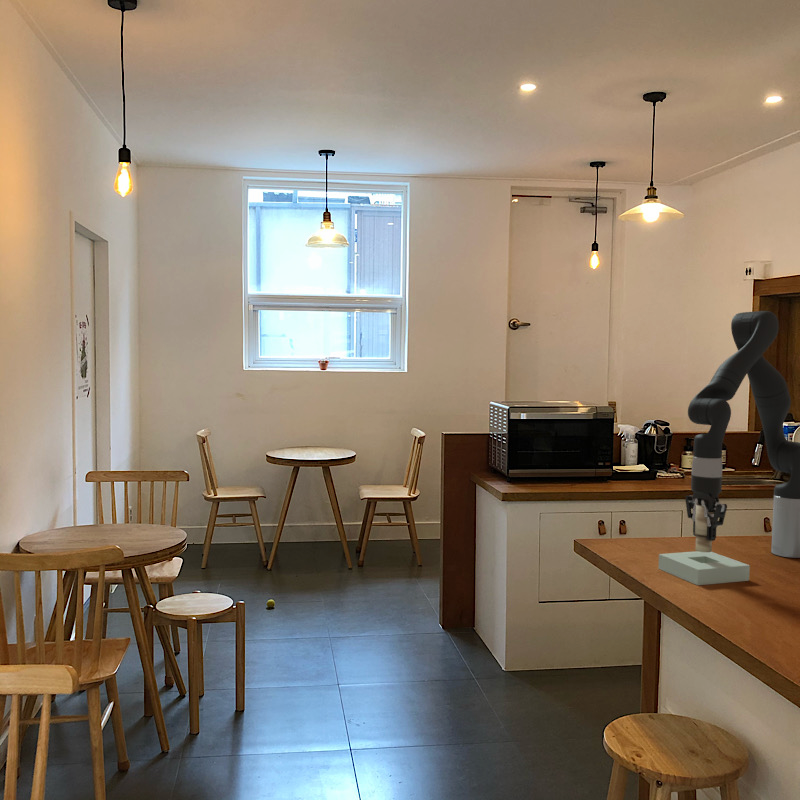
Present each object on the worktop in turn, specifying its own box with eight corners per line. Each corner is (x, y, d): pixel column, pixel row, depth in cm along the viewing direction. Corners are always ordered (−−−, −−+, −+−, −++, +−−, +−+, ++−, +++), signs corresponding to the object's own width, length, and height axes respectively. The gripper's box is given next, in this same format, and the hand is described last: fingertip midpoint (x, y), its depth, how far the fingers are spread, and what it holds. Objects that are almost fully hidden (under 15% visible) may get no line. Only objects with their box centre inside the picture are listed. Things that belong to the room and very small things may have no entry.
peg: (704, 547, 217) (706, 503, 216) (716, 552, 213) (718, 506, 212) (690, 548, 216) (691, 504, 215) (701, 553, 211) (703, 507, 210)
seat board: (707, 564, 225) (707, 550, 224) (749, 580, 209) (749, 565, 209) (658, 568, 220) (658, 554, 219) (697, 585, 204) (698, 569, 204)
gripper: (737, 477, 207) (734, 543, 208) (700, 469, 221) (698, 531, 222) (713, 478, 205) (710, 545, 206) (677, 470, 218) (674, 533, 220)
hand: (704, 537), depth 214 cm, fingers closed on peg, 4 cm apart
